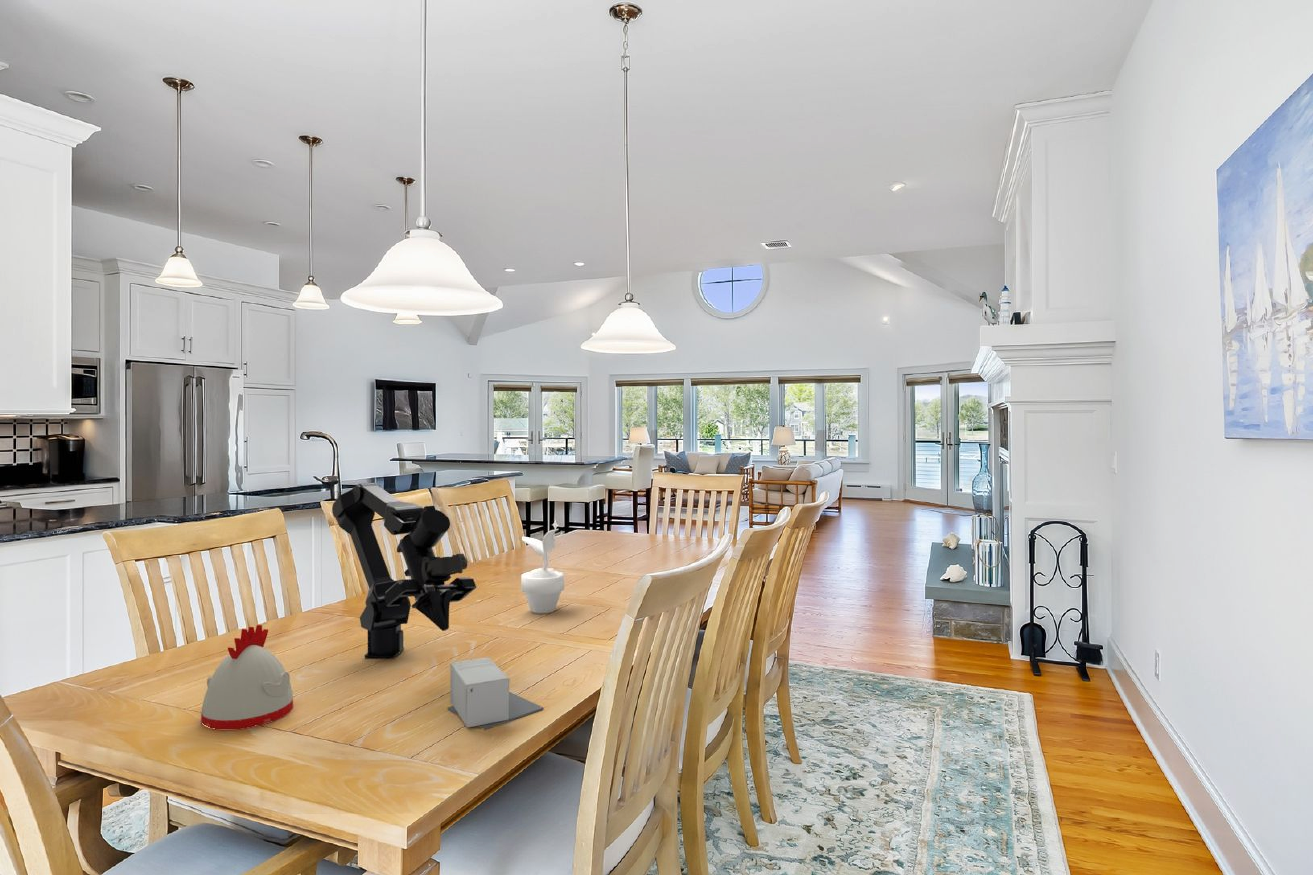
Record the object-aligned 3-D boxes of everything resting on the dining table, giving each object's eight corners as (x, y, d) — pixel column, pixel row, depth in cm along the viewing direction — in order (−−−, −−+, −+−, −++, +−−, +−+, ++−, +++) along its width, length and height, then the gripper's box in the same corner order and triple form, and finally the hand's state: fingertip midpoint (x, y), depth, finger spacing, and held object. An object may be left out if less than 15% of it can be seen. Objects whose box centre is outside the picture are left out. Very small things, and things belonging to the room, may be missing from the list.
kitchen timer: (310, 702, 131) (310, 619, 130) (251, 734, 117) (251, 642, 117) (245, 695, 134) (244, 614, 134) (181, 725, 120) (180, 636, 120)
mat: (447, 709, 127) (447, 707, 127) (504, 691, 136) (504, 689, 136) (484, 729, 119) (484, 727, 119) (543, 709, 128) (543, 707, 128)
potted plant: (573, 609, 196) (573, 517, 195) (544, 619, 186) (544, 522, 185) (538, 602, 202) (538, 513, 202) (508, 611, 193) (508, 518, 192)
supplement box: (449, 702, 130) (465, 728, 119) (449, 661, 130) (465, 683, 118) (490, 696, 133) (509, 721, 122) (490, 656, 133) (509, 677, 122)
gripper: (406, 537, 136) (433, 612, 129) (479, 539, 151) (506, 605, 145) (372, 568, 140) (396, 642, 133) (446, 567, 155) (471, 633, 149)
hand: (445, 629), depth 140 cm, fingers closed
